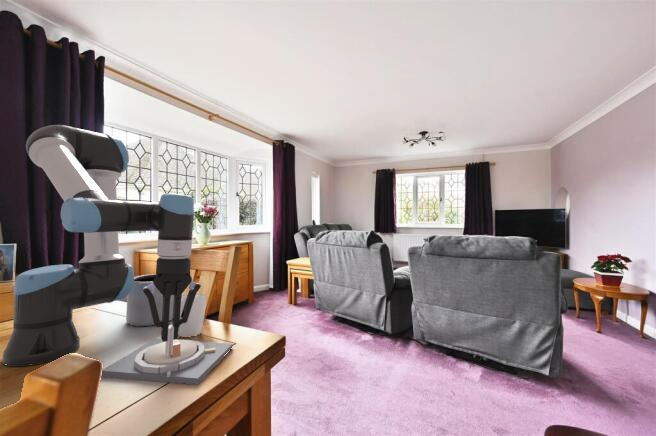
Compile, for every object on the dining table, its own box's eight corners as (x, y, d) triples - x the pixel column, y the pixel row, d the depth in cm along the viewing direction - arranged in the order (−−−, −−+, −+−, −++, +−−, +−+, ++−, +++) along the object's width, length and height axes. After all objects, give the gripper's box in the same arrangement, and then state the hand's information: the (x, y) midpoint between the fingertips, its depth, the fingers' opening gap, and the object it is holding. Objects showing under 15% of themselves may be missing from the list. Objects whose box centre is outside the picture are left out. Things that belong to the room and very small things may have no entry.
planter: (186, 315, 115) (187, 275, 115) (153, 330, 100) (154, 283, 100) (151, 311, 119) (152, 272, 119) (114, 325, 103) (115, 280, 103)
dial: (141, 354, 78) (141, 335, 78) (190, 343, 86) (190, 325, 86) (147, 373, 69) (148, 351, 69) (202, 359, 76) (202, 339, 76)
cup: (168, 338, 93) (169, 299, 93) (186, 327, 102) (187, 292, 102) (194, 340, 92) (195, 301, 92) (210, 330, 101) (211, 294, 101)
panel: (98, 378, 70) (99, 365, 70) (155, 343, 89) (155, 333, 89) (196, 386, 67) (196, 373, 67) (232, 348, 87) (232, 338, 87)
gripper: (145, 259, 67) (139, 366, 66) (205, 257, 74) (200, 353, 74) (142, 255, 73) (136, 353, 72) (197, 254, 80) (193, 342, 80)
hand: (168, 353), depth 73 cm, fingers closed
